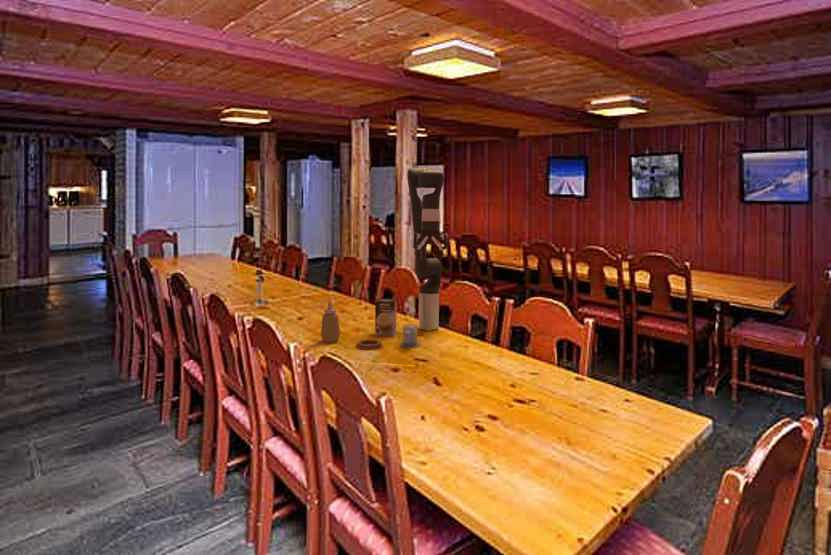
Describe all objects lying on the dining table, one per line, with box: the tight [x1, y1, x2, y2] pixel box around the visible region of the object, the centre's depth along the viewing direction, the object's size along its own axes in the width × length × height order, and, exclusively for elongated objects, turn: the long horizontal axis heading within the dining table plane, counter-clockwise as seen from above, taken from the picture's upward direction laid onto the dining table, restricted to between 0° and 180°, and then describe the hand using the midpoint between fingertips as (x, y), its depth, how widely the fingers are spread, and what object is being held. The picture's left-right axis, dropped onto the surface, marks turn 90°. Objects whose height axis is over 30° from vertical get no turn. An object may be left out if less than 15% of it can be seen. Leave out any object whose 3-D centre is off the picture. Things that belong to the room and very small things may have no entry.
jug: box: [402, 323, 418, 347], centre depth 229 cm, size 11×6×8 cm, turn 171°
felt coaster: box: [398, 341, 422, 349], centre depth 232 cm, size 9×9×1 cm
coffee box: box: [374, 298, 398, 337], centre depth 248 cm, size 9×6×16 cm
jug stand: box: [354, 338, 384, 352], centre depth 229 cm, size 12×12×2 cm
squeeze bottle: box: [320, 300, 341, 344], centre depth 235 cm, size 8×8×18 cm
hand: (430, 258), depth 232 cm, fingers open, 8 cm apart
